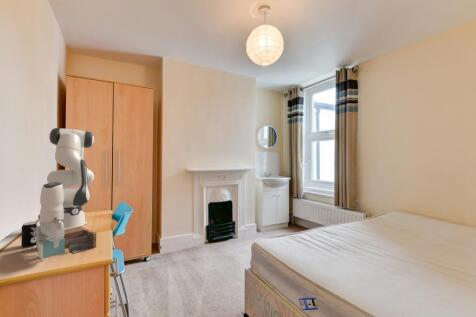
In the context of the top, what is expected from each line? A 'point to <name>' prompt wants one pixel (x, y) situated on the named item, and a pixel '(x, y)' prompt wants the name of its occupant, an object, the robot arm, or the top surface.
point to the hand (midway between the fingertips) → (52, 245)
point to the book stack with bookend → (79, 239)
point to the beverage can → (28, 234)
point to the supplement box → (39, 235)
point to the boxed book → (50, 248)
